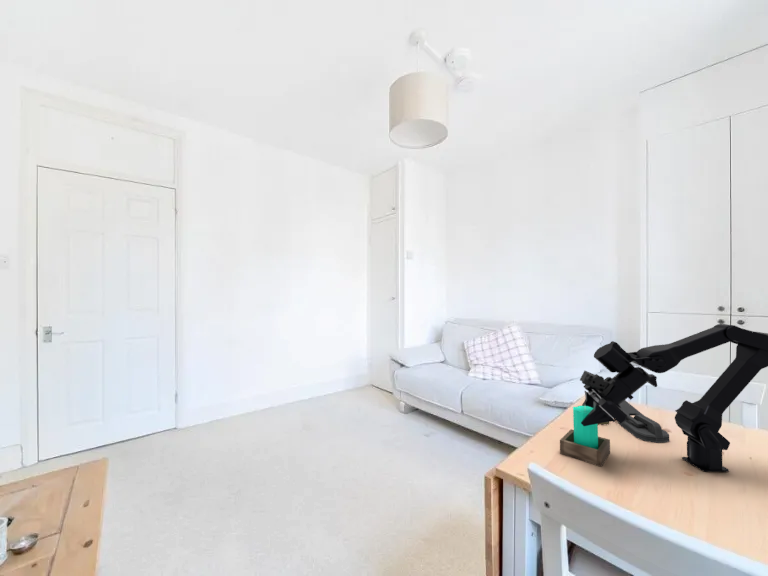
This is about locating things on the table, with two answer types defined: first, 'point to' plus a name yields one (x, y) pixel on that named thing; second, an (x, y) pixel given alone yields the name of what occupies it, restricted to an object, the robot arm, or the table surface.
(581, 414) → the candle
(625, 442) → the table surface
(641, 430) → the zipper pull
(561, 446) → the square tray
